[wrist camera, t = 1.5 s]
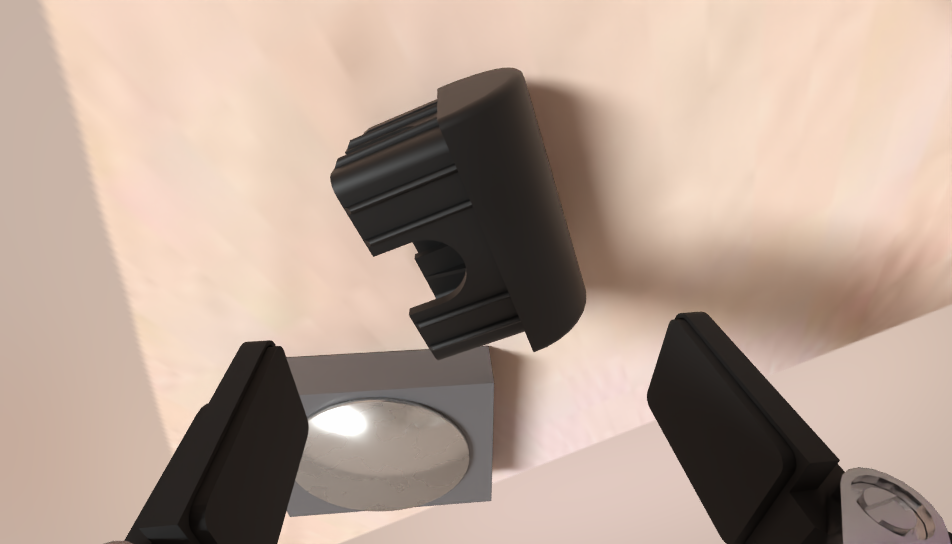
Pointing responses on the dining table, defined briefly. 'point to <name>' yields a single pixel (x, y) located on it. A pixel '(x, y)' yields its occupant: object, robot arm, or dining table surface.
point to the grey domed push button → (394, 431)
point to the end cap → (469, 214)
